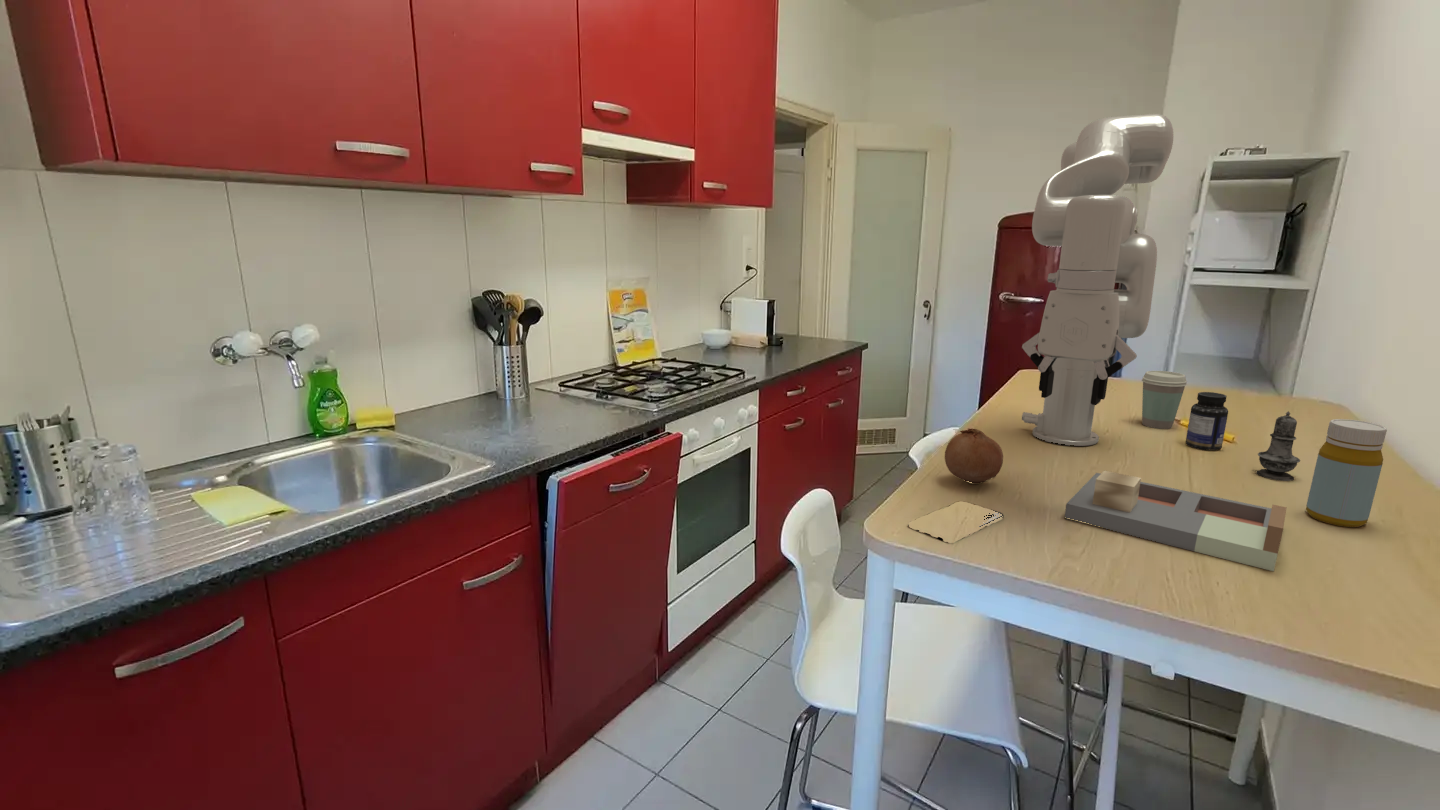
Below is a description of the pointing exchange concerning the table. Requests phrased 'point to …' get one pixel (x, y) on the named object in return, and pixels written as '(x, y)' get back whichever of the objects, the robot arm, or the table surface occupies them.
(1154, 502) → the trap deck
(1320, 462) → the bottle
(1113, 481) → the maple block
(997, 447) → the onion
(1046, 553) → the table surface
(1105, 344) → the robot arm
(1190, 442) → the pill bottle
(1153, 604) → the table surface
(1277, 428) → the salt shaker
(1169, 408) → the coffee cup
